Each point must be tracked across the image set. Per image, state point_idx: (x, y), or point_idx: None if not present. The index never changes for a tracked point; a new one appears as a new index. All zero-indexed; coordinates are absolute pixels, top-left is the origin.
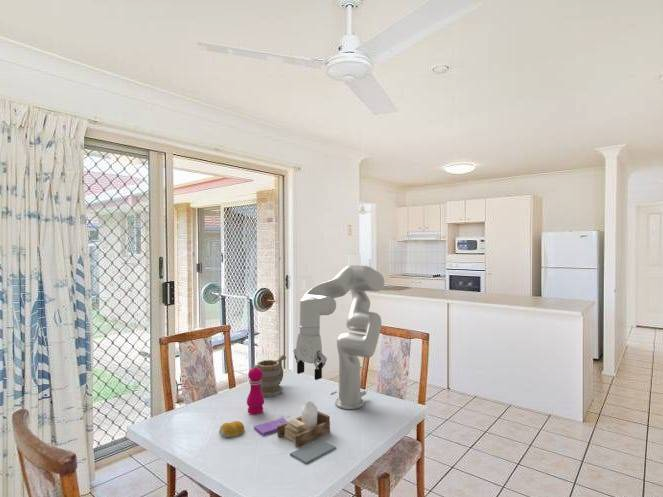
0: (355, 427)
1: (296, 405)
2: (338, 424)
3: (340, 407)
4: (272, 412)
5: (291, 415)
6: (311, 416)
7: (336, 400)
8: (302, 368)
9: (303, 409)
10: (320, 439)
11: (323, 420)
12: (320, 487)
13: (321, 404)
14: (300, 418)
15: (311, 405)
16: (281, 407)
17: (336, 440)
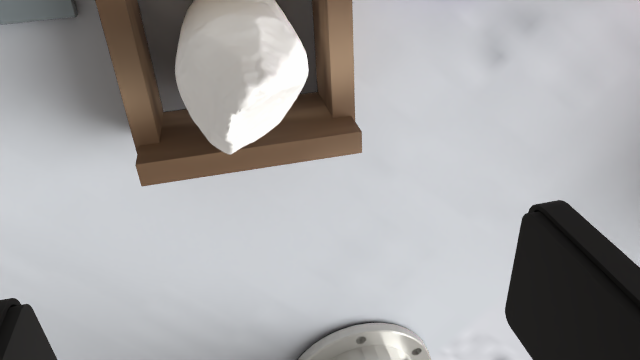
0: (113, 274)
1: (558, 171)
2: (203, 225)
3: (353, 326)
4: (618, 2)
5: (492, 76)
6: (178, 52)
7: (416, 346)
8: (556, 345)
9: (266, 33)
10: (61, 12)
11: (179, 140)
12: None
13: (459, 276)
14: (328, 31)
15: (217, 106)
16: (614, 89)
17: (17, 102)
